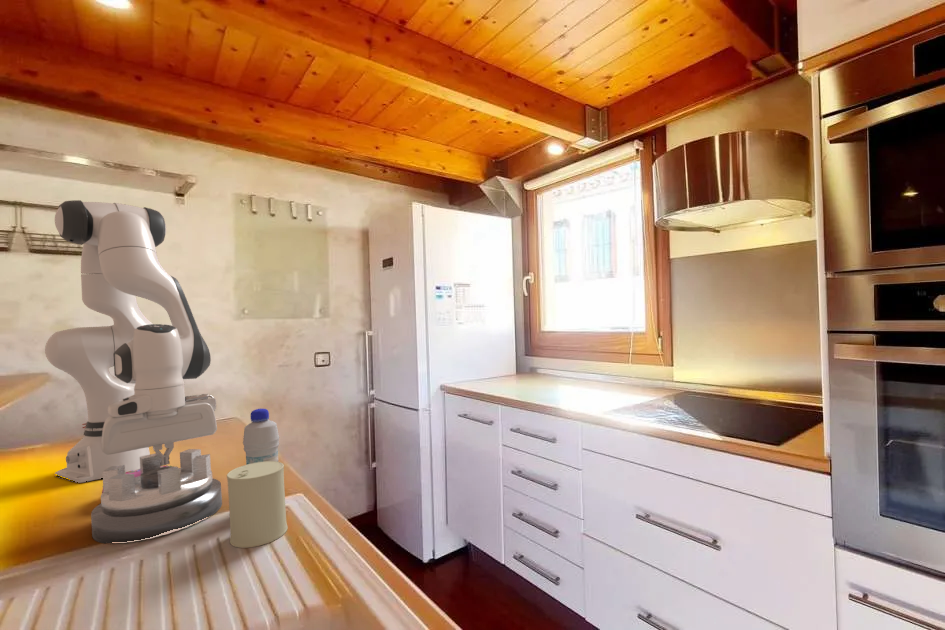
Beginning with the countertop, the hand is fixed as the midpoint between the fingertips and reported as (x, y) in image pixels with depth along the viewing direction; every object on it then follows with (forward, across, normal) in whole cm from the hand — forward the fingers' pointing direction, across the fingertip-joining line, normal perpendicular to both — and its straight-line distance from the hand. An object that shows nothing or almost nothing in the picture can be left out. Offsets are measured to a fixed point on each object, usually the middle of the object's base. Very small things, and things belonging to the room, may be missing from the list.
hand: (164, 464), depth 96 cm
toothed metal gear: (+4, +2, +7) cm, 9 cm away
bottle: (+9, -14, +19) cm, 25 cm away
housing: (+8, +2, +8) cm, 11 cm away
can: (+9, -10, +31) cm, 34 cm away
